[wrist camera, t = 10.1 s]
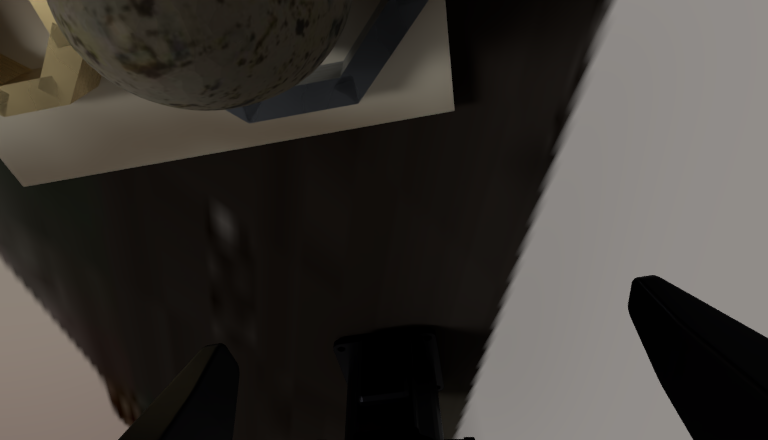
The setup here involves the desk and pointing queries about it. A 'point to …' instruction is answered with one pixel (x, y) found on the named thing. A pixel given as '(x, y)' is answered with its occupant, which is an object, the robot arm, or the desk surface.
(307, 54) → the decorative egg
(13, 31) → the fitting board
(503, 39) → the desk surface
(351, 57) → the collar
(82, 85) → the narrow collar
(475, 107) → the desk surface
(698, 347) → the robot arm
